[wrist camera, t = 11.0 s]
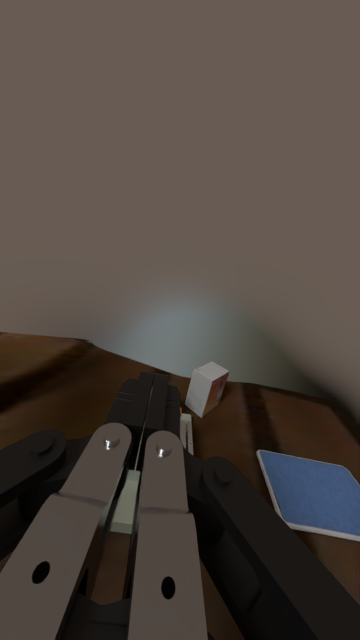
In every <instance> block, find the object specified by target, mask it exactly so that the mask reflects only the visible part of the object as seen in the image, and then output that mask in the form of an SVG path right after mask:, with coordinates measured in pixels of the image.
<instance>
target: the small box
mask: <svg viewBox="0 0 360 640" xmlns="http://www.w3.org/2000/svg"><path fill="white" fill-rule="evenodd" d="M228 374H229V371H228V370H226V369H224V368H223V367H221V366H219V365H217V364H216V363H214V362H212V361H211V362H210V363H208V364H206V365H203V366H201V367H199V368H196V369H194V370H193V375H192V378H191V382H190V386H189V390H188V393H187V397H186V401H185V405H186V406H187V407H188V408H190V409H191V410H192V411H193V412H195V413H196V414H197V415H198V416H199V417H201V418H202V417H204V416H205V415H206V414H207V413H208V412H210V411H211V410H212V409H214V408H215V407H216V406H218V405H219V402H220V398H221V396H222V392H223V389H224V386H225V383H226V380H227V377H228Z"/></svg>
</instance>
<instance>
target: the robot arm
mask: <svg viewBox="0 0 360 640" xmlns="http://www.w3.org/2000/svg"><path fill="white" fill-rule="evenodd" d="M168 378H169V376H168V375H162V374H157V373H156V374H155V379H154V373H151V372H145V371H141V373H140V376H139V379H138V380H135V379H128V380H127V381H126V382H125V383H123V384H122V387H121V389H120V391H119V393H118V395H117V398H116V400H115V402H114V404H113V406H112V408H111V411H110V413H109V415H108V417H107V419H106V422H105V424H104V425H103V426H101V427H100V428H98V429H97V430H96V431H95V433H94V434H93V435H91V436H89V437H86V438H81V439H74V440H66V437H65V435H64V434H63V433H61V432H60V431H57V430H43V431H40V432H37V433H35V434H33V435H30V436H28V437H26V438H24V439H22V440H20V441H18V442H16V443H14V444H12V445H10V446H8V447H6V448H4V449H2V450H0V561H1V560H2V559H3V558H5V557H6V556H7V555H8V554H9V553H11V552H12V551H13V550H14V549H15V550H14V552H13V554H12V555H11V557H10V558H9V560H8V562H7V563H6V565H5V566H4V568H3V570H2V571H1V573H0V640H214V639H213V637H212V636H211V635H210V633H209V632H208V631H207V627H206V618H205V609H204V599H203V590H202V581H201V571H200V562H199V557H200V559H201V561H202V562H203V564H204V566H205V568H206V570H207V572H208V573H209V575H210V577H211V579H212V581H213V582H214V584H215V586H216V588H217V590H218V591H219V593H220V595H221V597H222V599H223V601H224V602H225V604H226V606H227V608H228V610H229V611H230V613H231V615H232V617H233V619H234V621H235V622H236V624H237V626H238V628H239V630H240V631H241V633H242V635H243V637H244V639H245V640H360V605H359V604H358V603H357V602H356V601H355V600H354V599H353V598H352V596H351V595H350V594H349V593H348V592H347V591H346V590H345V589H344V587H343V586H342V585H341V584H340V583H339V582H338V581H337V580H336V579H335V577H334V576H333V575H332V574H331V573H330V572H329V571H328V570H327V568H326V567H325V566H324V565H323V564H322V563H321V562H320V561H319V560H318V558H317V557H316V556H315V555H314V554H313V553H312V552H311V551H310V549H309V548H308V547H307V546H306V545H305V544H304V543H303V542H302V541H301V539H300V538H299V537H298V536H297V535H296V534H295V533H294V532H293V530H292V529H291V528H290V527H289V526H288V525H287V524H286V523H285V522H284V520H283V519H282V518H281V517H280V516H279V515H278V514H277V513H276V511H275V510H274V509H273V508H272V507H271V506H270V505H269V504H268V503H267V501H266V500H265V499H264V498H263V497H262V496H261V495H260V494H259V492H258V491H257V490H256V489H255V488H254V487H253V486H252V485H251V484H250V482H249V481H248V480H247V479H246V478H245V477H244V476H243V475H242V473H241V472H240V471H239V470H238V469H237V468H236V467H235V466H234V465H233V464H232V463H231V462H230V461H228V460H227V459H225V458H222V457H211V458H209V459H208V460H207V461H206V462H205V461H203V460H201V459H199V458H197V457H195V456H193V455H192V454H190V453H189V452H188V451H187V450H186V449H185V448H184V446H183V444H182V442H181V439H180V392H179V390H178V388H177V387H175V386H169V385H168ZM153 379H154V383H153ZM152 384H153V388H152ZM151 390H152V392H151ZM150 395H151V397H150ZM149 400H150V402H149ZM148 405H149V406H148ZM147 410H148V411H147ZM146 414H147V415H146ZM145 419H146V420H145ZM144 423H145V425H144ZM143 428H144V429H143ZM142 432H143V435H142ZM141 437H142V440H141ZM140 442H141V445H140ZM139 446H140V451H139ZM138 451H139V456H138V461H137V467H136V471H140V476H139V482H138V487H137V492H136V498H135V506H134V515H133V523H132V531H131V539H130V547H129V555H128V563H127V570H126V576H125V582H124V589H123V596H122V600H121V601H117V602H114V603H111V604H108V605H99V604H97V603H95V602H93V601H92V600H90V599H91V595H92V592H93V589H94V585H95V581H96V578H97V574H98V569H99V566H100V562H101V558H102V555H103V552H104V549H105V546H106V542H107V539H108V536H109V533H110V530H111V527H112V524H113V520H114V517H115V514H116V511H117V508H118V505H119V502H120V498H121V495H122V492H123V488H124V486H125V484H126V480H127V476H128V472H129V470H134V469H135V464H136V460H137V455H138Z"/></svg>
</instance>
